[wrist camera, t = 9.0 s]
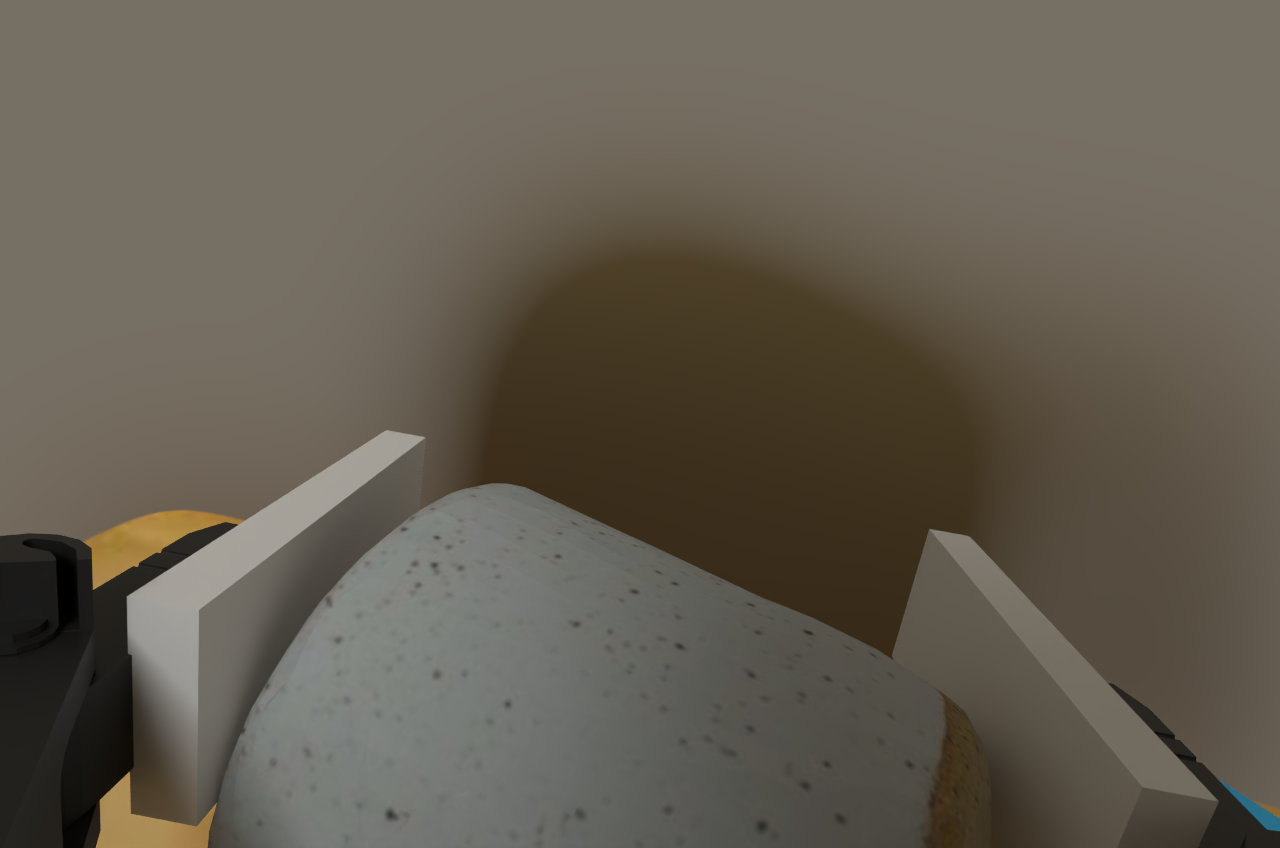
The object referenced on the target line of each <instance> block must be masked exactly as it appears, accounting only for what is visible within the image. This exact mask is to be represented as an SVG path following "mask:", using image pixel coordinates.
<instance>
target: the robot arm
mask: <svg viewBox="0 0 1280 848" xmlns="http://www.w3.org/2000/svg"><path fill="white" fill-rule="evenodd" d="M424 446H425V437H420V436H415V435H409V434H403V433H398V432H393V431H385V432H383V433H382V434H380V435H378V436H377V437H375V438H374V439H372V440H371V441H369V442H368V443H366V444H364V445H363V446H361V447H360V448H358V449H357V450H355V451H353V452H352V453H350V454H349V455H347V456H346V457H344V458H342V459H341V460H339V461H338V462H336V463H335V464H333V465H332V466H330V467H328V468H327V469H325V470H324V471H322V472H321V473H319V474H318V475H316V476H314V477H313V478H311V479H310V480H308V481H307V482H305V483H303V484H302V485H300V486H299V487H297V488H296V489H294V490H293V491H291V492H289V493H288V494H286V495H285V496H283V497H282V498H280V499H278V500H277V501H275V502H274V503H272V504H271V505H269V506H268V507H266V508H264V509H263V510H261V511H260V512H258V513H257V514H255V515H254V516H252V517H250V518H249V519H247V520H246V521H244V522H242V523H241V524H239V525H237V524H232V523H227V522H224V523H221V524H218V525H215V526H211V527H208V528H205V529H202V530H198V531H195V532H192V533H189V534H187V535H185V536H184V537H182V538H180V539H179V540H177V541H175V542H174V543H172V544H170V545H168V546H167V547H165V548H163V549H162V551H161V553H155V554H153V555H152V556H150V557H148V558H147V559H145V560H143V561H141V562H140V563H139V566H138V567H135V566H133V567H131V568H130V569H128V570H126V571H125V572H123V573H121V574H120V575H118V576H116V577H115V578H113V579H111V580H109V581H108V582H106V583H104V584H103V585H101V586H99V587H98V588H96V589H94V590H93V581H92V550H91V548H90V547H89V546H88V545H86V544H85V543H83V542H82V541H80V540H78V539H74V538H69V537H66V536H61V535H52V534H31V533H30V534H20V535H7V536H0V848H95V847H96V844H97V840H98V837H99V833H100V799H101V798H102V797H103V796H104V795H105V794H106V793H107V792H108V791H109V790H110V789H111V788H113V787H114V786H115V785H116V784H117V783H118V782H119V781H120V780H121V779H122V778H123V777H124V776H125V775H126V774H127V773H128V772H129V771H130V792H131V814H136V815H141V816H146V817H151V818H156V819H162V820H167V821H172V822H177V823H182V824H187V825H193V826H197V825H198V824H199V823H200V822H201V821H202V819H203V818H204V817H205V816H206V815H207V813H208V812H209V811H210V810H211V809H212V807H213V806H214V805H215V804H216V803H217V801H218V798H219V794H220V791H221V787H222V783H223V779H224V776H225V772H226V768H227V766H228V763H229V761H230V758H231V756H232V753H233V751H234V748H235V746H236V743H237V741H238V738H239V736H240V734H241V731H242V729H243V726H244V724H245V722H246V719H247V717H248V715H249V713H250V711H251V709H252V707H253V705H254V703H255V702H256V700H257V698H258V697H259V695H260V693H261V691H262V690H263V688H264V686H265V685H266V683H267V681H268V680H269V678H270V676H271V675H272V673H273V671H274V670H275V668H276V667H277V665H278V663H279V662H280V660H281V658H282V657H283V655H284V654H285V652H286V650H287V649H288V647H289V646H290V644H291V643H292V641H293V640H294V638H295V637H296V635H297V634H298V632H299V631H300V629H301V628H302V626H303V625H304V623H305V622H306V620H307V619H308V618H309V616H310V615H311V614H312V612H313V611H314V610H315V608H316V607H317V606H318V604H319V603H320V601H321V600H322V599H323V598H324V597H325V596H326V594H327V593H328V592H329V591H330V590H331V589H332V588H333V587H334V586H335V585H336V584H337V583H338V581H339V580H340V579H341V578H342V577H343V575H344V574H345V573H346V572H347V571H348V570H349V569H350V568H351V567H352V566H353V565H354V564H355V563H356V562H357V561H358V560H359V559H360V558H361V557H362V556H363V555H364V554H365V553H366V552H368V551H369V550H370V549H371V548H372V547H374V546H375V545H376V544H377V543H379V542H380V541H381V540H382V539H383V538H385V537H386V536H387V535H388V534H389V533H391V532H392V531H393V530H394V529H395V528H397V527H398V526H399V525H401V524H402V523H403V522H404V521H406V520H407V519H408V518H409V517H411V516H412V515H413V514H415V513H416V512H418V511H419V499H420V489H421V479H422V469H423V458H424ZM892 657H893V659H894V661H895V662H897V663H898V664H900V665H902V666H903V667H905V668H906V669H908V670H909V671H911V672H912V673H914V674H915V675H917V676H919V677H920V678H921V679H923V680H924V681H926V682H927V683H929V684H930V685H932V686H933V687H935V688H936V689H938V690H939V691H940V692H942V693H943V694H945V695H946V696H947V697H948V698H949V699H951V700H952V701H953V702H954V703H955V704H957V705H958V706H959V707H960V708H962V709H963V710H964V711H965V712H966V714H967V716H968V718H969V720H970V721H971V723H972V725H973V727H974V729H975V731H976V733H977V734H978V736H979V738H980V740H981V742H982V744H983V747H984V750H985V754H986V757H987V760H988V763H989V773H990V783H991V793H992V803H993V806H992V827H991V839H990V848H1280V831H1274V830H1267V829H1266V828H1265V827H1264V826H1263V825H1262V824H1261V823H1260V822H1259V821H1258V820H1257V819H1256V818H1255V817H1254V816H1253V815H1252V814H1251V813H1250V812H1249V811H1248V810H1247V809H1246V808H1245V807H1244V806H1243V805H1242V804H1241V802H1240V801H1239V800H1238V799H1237V798H1236V797H1235V796H1234V795H1233V794H1232V793H1231V792H1230V791H1229V790H1228V789H1227V788H1226V787H1225V786H1224V785H1223V784H1222V783H1221V782H1220V781H1219V780H1218V779H1217V778H1216V777H1215V776H1214V775H1213V774H1212V773H1211V772H1210V771H1209V770H1208V769H1207V768H1206V767H1205V766H1204V765H1203V764H1202V763H1199V762H1196V756H1195V755H1194V754H1193V753H1192V752H1191V751H1190V750H1189V749H1188V748H1187V747H1186V746H1185V745H1184V744H1183V743H1182V742H1181V741H1180V740H1175V735H1174V734H1173V733H1172V732H1171V731H1170V730H1169V729H1168V728H1167V727H1166V726H1165V725H1164V724H1163V723H1162V722H1161V721H1160V720H1159V719H1158V718H1157V716H1155V715H1154V713H1153V712H1152V711H1151V710H1149V709H1148V708H1147V707H1145V706H1144V705H1142V704H1141V703H1140V702H1138V701H1137V700H1135V699H1134V698H1132V697H1131V696H1130V695H1128V694H1127V693H1125V692H1124V691H1123V690H1121V689H1119V688H1118V687H1117V686H1115V685H1114V684H1110V683H1107V682H1106V681H1105V680H1104V679H1103V678H1102V677H1101V676H1100V675H1099V673H1098V672H1097V671H1096V670H1095V669H1094V668H1093V667H1092V666H1091V665H1090V664H1089V663H1088V662H1087V661H1086V660H1085V659H1084V658H1083V656H1082V655H1081V654H1080V653H1079V652H1078V651H1077V650H1076V649H1075V648H1074V647H1073V646H1072V645H1071V644H1070V643H1069V642H1068V640H1067V639H1066V638H1065V637H1064V636H1063V635H1062V634H1061V633H1060V632H1059V631H1058V630H1057V629H1056V628H1055V627H1054V626H1053V625H1052V624H1051V623H1050V621H1049V620H1048V619H1047V618H1046V617H1045V616H1044V615H1043V614H1042V613H1041V612H1040V611H1039V610H1038V609H1037V608H1036V606H1034V604H1032V602H1031V601H1030V600H1029V599H1028V598H1027V597H1026V596H1025V595H1024V594H1023V593H1022V592H1021V591H1020V589H1019V588H1018V587H1017V586H1016V585H1015V584H1014V583H1013V582H1012V581H1011V580H1010V579H1009V578H1008V577H1007V576H1006V575H1005V573H1004V572H1003V571H1002V570H1001V569H1000V568H999V567H998V566H997V565H996V564H995V563H994V562H993V561H992V560H991V559H990V558H989V557H988V556H987V554H986V553H985V552H983V550H982V549H981V548H980V547H979V546H978V545H977V544H976V543H975V542H974V541H973V539H972V538H971V537H969V536H965V535H959V534H954V533H949V532H942V531H938V530H931V529H929V532H928V536H927V539H926V542H925V546H924V549H923V552H922V556H921V559H920V563H919V566H918V569H917V573H916V576H915V580H914V583H913V586H912V590H911V593H910V597H909V600H908V603H907V607H906V610H905V613H904V617H903V620H902V624H901V627H900V630H899V634H898V637H897V641H896V644H895V648H894V651H893V654H892Z"/></svg>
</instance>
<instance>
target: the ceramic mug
mask: <svg viewBox="0 0 1280 848" xmlns="http://www.w3.org/2000/svg"><path fill="white" fill-rule="evenodd" d="M992 806H993V803H992V793H991V783H990V773H989V763H988V760H987V757H986V754H985V750H984V747H983V744H982V742H981V740H980V738H979V736H978V734H977V733H976V731H975V729H974V727H973V725H972V723H971V721H970V720H969V718H968V716H967V714H966V712H965V711H964V710H963V709H962V708H960V707H959V706H958V705H957V704H955V703H954V702H953V701H952V700H951V699H949V698H948V697H947V696H946V695H945V694H943V693H942V692H940V691H939V690H938V689H936V688H935V687H933V686H932V685H930V684H929V683H927V682H926V681H924V680H923V679H921V678H920V677H919V676H917V675H915V674H914V673H912V672H911V671H909V670H908V669H906V668H905V667H903V666H902V665H900V664H898V663H897V662H895V661H894V660H892V659H891V658H889V657H888V656H886V655H884V654H883V653H881V652H880V651H878V650H877V649H875V648H873V647H871V646H869V645H866V644H865V643H863V642H861V641H859V640H857V639H855V638H853V637H850V636H848V635H846V634H844V633H842V632H840V631H838V630H836V629H834V628H832V627H830V626H828V625H826V624H824V623H822V622H820V621H817V620H816V619H814V618H812V617H809V616H807V615H804V614H801V613H799V612H797V611H794V610H792V609H789V608H787V607H784V606H782V605H779V604H777V603H774V602H772V601H769V600H766V599H764V598H762V597H759V596H757V595H755V594H753V593H751V592H749V591H747V590H744V589H742V588H740V587H738V586H736V585H734V584H732V583H730V582H727V581H725V580H723V579H721V578H719V577H717V576H715V575H713V574H710V573H708V572H706V571H704V570H702V569H700V568H698V567H696V566H693V565H691V564H689V563H687V562H685V561H683V560H681V559H678V558H676V557H674V556H672V555H670V554H668V553H666V552H664V551H661V550H659V549H657V548H655V547H653V546H650V545H649V544H646V543H644V542H642V541H640V540H638V539H635V538H633V537H631V536H629V535H627V534H624V533H622V532H620V531H618V530H616V529H614V528H611V527H609V526H607V525H605V524H603V523H601V522H598V521H596V520H594V519H592V518H590V517H587V516H586V515H583V514H581V513H579V512H577V511H575V510H573V509H570V508H568V507H566V506H564V505H562V504H559V503H558V502H555V501H553V500H551V499H549V498H547V497H545V496H543V495H540V494H538V493H536V492H534V491H532V490H530V489H527V488H525V487H520V486H515V485H510V484H496V483H493V484H487V485H482V486H478V487H472V488H467V489H463V490H460V491H457V492H454V493H451V494H449V495H447V496H445V497H443V498H441V499H440V500H438V501H436V502H434V503H432V504H430V505H429V506H427V507H425V508H423V509H422V510H420V511H418V512H416V513H415V514H413V515H412V516H411V517H409V518H408V519H407V520H406V521H404V522H403V523H402V524H401V525H399V526H398V527H397V528H395V529H394V530H393V531H392V532H391V533H389V534H388V535H387V536H386V537H385V538H383V539H382V540H381V541H380V542H379V543H377V544H376V545H375V546H374V547H372V548H371V549H370V550H369V551H368V552H366V553H365V554H364V555H363V556H362V557H361V558H360V559H359V560H358V561H357V562H356V563H355V564H354V565H353V566H352V567H351V568H350V569H349V570H348V571H347V572H346V573H345V574H344V575H343V577H342V578H341V579H340V580H339V581H338V583H337V584H336V585H335V586H334V587H333V588H332V589H331V590H330V591H329V592H328V593H327V594H326V596H325V597H324V598H323V599H322V600H321V601H320V603H319V604H318V606H317V607H316V608H315V610H314V611H313V612H312V614H311V615H310V616H309V618H308V619H307V620H306V622H305V623H304V625H303V626H302V628H301V629H300V631H299V632H298V634H297V635H296V637H295V638H294V640H293V641H292V643H291V644H290V646H289V647H288V649H287V650H286V652H285V654H284V655H283V657H282V658H281V660H280V662H279V663H278V665H277V667H276V668H275V670H274V671H273V673H272V675H271V676H270V678H269V680H268V681H267V683H266V685H265V686H264V688H263V690H262V691H261V693H260V695H259V697H258V698H257V700H256V702H255V703H254V705H253V707H252V709H251V711H250V713H249V715H248V717H247V719H246V722H245V724H244V726H243V729H242V731H241V734H240V736H239V738H238V741H237V743H236V746H235V748H234V751H233V753H232V756H231V758H230V761H229V763H228V766H227V768H226V772H225V776H224V779H223V783H222V787H221V791H220V794H219V798H218V802H217V805H216V809H215V812H214V816H213V820H212V823H211V827H210V831H209V841H208V848H990V839H991V827H992Z"/></svg>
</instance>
